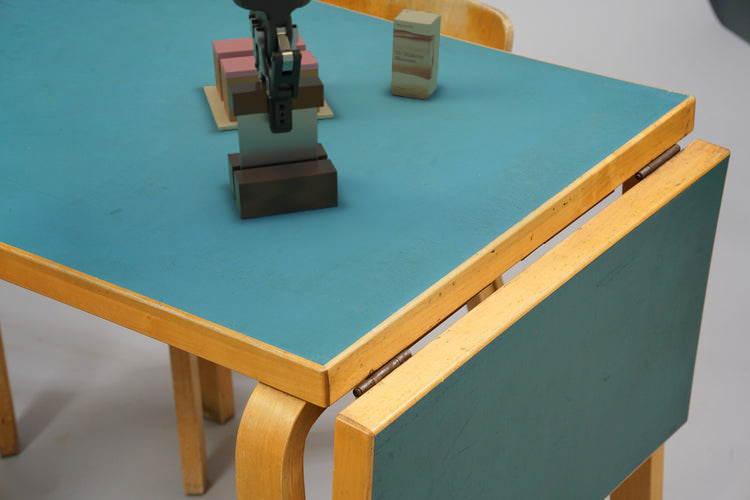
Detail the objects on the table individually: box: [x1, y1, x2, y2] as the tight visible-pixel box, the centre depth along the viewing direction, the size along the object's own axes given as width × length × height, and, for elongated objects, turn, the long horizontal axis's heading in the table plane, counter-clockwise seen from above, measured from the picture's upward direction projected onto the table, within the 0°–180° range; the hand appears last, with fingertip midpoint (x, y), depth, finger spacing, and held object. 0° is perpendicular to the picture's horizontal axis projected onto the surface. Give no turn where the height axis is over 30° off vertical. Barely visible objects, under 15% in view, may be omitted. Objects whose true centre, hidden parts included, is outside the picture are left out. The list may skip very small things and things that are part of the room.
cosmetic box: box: [390, 8, 442, 100], centre depth 124 cm, size 5×4×10 cm
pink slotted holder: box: [203, 33, 335, 132], centre depth 121 cm, size 14×13×7 cm
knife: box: [228, 76, 325, 170], centre depth 99 cm, size 9×2×11 cm, turn 106°
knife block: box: [227, 142, 339, 220], centre depth 101 cm, size 10×7×4 cm
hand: (278, 124), depth 98 cm, fingers closed on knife, 2 cm apart
